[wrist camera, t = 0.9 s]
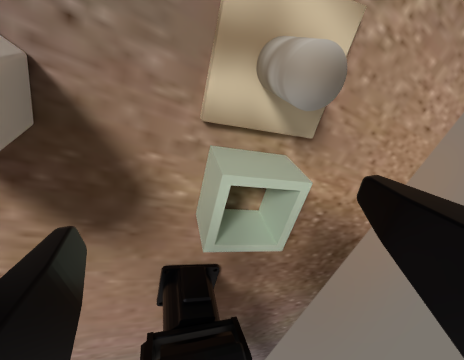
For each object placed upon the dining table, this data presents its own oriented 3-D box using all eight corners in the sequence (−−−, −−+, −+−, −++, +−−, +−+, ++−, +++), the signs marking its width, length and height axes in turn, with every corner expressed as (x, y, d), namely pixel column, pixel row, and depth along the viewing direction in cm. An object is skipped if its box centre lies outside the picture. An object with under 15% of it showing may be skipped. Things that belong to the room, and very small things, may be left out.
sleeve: (263, 216, 27) (281, 251, 23) (195, 214, 25) (203, 252, 21) (286, 155, 24) (312, 182, 20) (210, 145, 21) (222, 174, 17)
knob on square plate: (306, 134, 23) (347, 164, 18) (200, 116, 20) (213, 147, 15) (357, 6, 18) (430, 0, 13) (228, -44, 15) (262, -77, 10)
